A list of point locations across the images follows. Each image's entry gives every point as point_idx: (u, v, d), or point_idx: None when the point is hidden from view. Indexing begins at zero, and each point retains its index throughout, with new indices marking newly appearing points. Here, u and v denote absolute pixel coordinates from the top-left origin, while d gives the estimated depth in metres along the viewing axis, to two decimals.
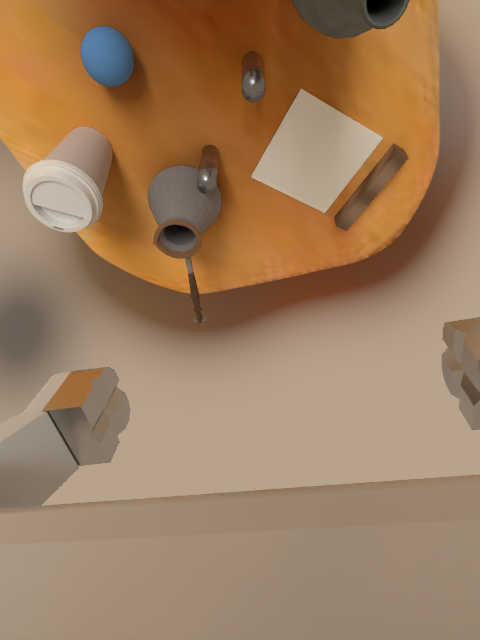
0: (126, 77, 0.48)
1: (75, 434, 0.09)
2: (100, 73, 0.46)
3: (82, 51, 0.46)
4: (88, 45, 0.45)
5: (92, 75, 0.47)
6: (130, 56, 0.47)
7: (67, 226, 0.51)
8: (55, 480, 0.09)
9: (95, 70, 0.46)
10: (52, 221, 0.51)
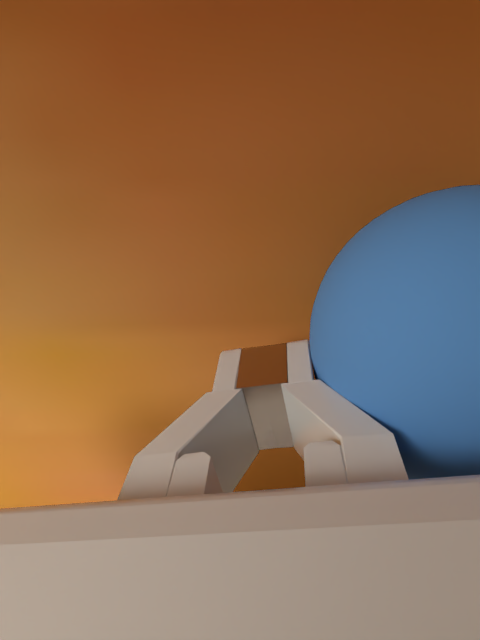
0: None
1: (265, 414, 0.08)
2: None
3: None
4: (416, 411, 0.06)
5: None
6: None
7: None
8: (243, 465, 0.08)
9: None
10: None
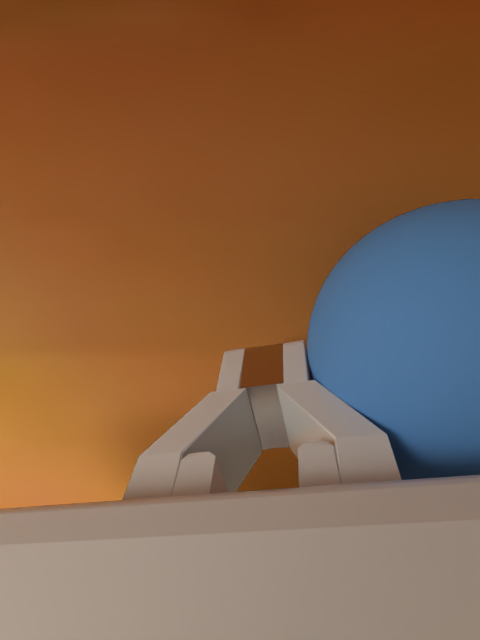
0: None
1: (269, 414, 0.08)
2: None
3: None
4: (412, 419, 0.06)
5: None
6: None
7: None
8: (247, 464, 0.08)
9: None
10: None
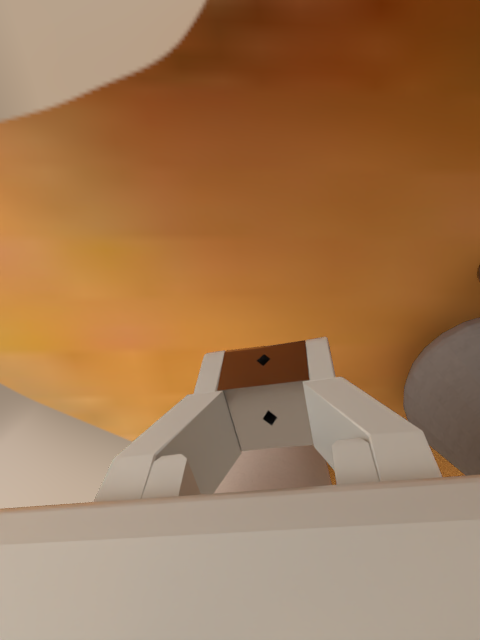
0: None
1: (247, 416, 0.08)
2: None
3: None
4: None
5: None
6: None
7: None
8: (225, 466, 0.08)
9: None
10: None
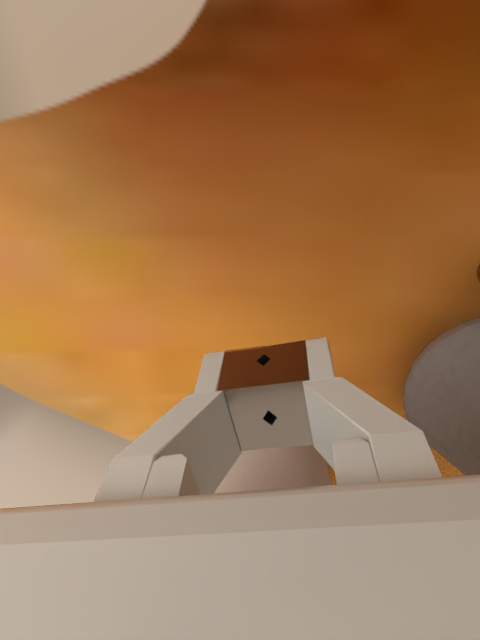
0: None
1: (247, 416, 0.08)
2: None
3: None
4: None
5: None
6: None
7: None
8: (225, 466, 0.08)
9: None
10: None
